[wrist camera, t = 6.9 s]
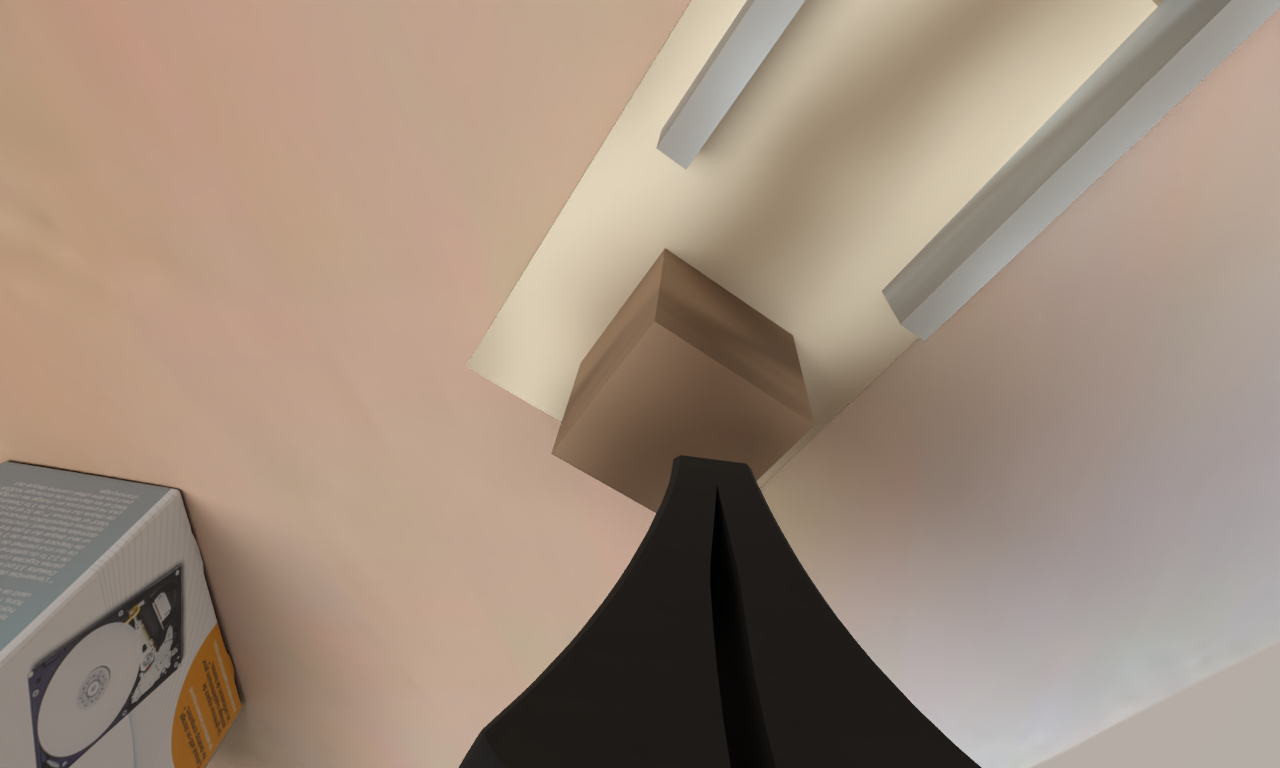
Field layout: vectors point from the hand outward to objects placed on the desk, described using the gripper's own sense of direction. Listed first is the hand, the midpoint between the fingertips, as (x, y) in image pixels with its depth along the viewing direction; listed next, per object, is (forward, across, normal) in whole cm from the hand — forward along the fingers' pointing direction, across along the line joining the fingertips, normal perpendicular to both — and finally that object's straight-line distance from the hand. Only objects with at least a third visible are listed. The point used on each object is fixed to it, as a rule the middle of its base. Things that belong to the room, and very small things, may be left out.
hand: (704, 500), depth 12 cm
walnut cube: (+8, 0, +1) cm, 8 cm away
